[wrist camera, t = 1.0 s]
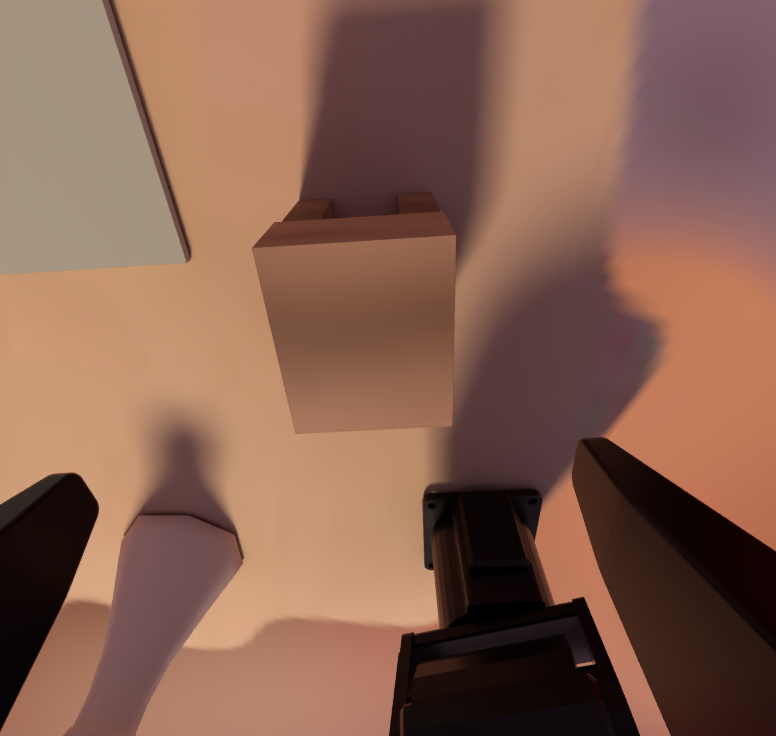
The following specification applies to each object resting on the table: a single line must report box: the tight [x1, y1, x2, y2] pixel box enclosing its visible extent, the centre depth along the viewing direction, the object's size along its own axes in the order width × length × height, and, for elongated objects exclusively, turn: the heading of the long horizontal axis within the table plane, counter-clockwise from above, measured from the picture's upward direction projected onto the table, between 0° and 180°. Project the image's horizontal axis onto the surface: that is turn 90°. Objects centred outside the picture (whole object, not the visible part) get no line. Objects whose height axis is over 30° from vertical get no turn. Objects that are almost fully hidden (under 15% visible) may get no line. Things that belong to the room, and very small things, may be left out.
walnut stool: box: [252, 192, 456, 434], centre depth 15 cm, size 6×5×6 cm
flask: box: [63, 515, 243, 736], centre depth 23 cm, size 7×7×10 cm
